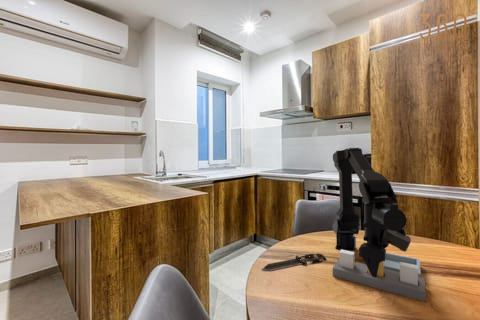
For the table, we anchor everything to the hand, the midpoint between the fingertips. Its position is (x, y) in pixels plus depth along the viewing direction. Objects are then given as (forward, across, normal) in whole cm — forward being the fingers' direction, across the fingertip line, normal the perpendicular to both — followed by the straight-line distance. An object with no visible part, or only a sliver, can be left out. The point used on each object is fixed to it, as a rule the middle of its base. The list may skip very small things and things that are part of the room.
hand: (375, 271), depth 69 cm
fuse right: (+3, 0, -8) cm, 9 cm away
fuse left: (+3, 0, +8) cm, 9 cm away
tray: (+3, +12, -4) cm, 13 cm away
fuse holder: (+3, 0, 0) cm, 3 cm away
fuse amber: (+3, 0, 0) cm, 3 cm away
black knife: (+4, -3, +25) cm, 25 cm away
